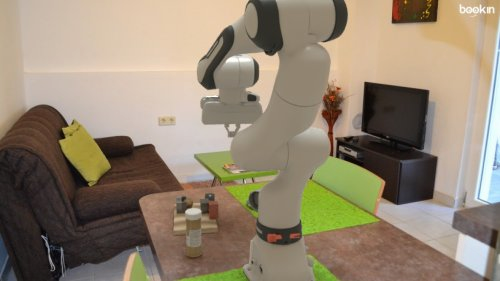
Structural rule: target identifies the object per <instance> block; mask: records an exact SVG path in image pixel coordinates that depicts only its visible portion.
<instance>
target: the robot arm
mask: <svg viewBox="0 0 500 281" xmlns="http://www.w3.org/2000/svg"><path fill="white" fill-rule="evenodd" d="M348 11H349V10H348V5H347V3H346V0H248V1H247V2H246V4H245V8H244V14H243V15H242V16H240V17H239V19H237V20H236V21H234V22H233V23H231V24H230V25H228V26H227V27H225V28H223V29H222V30H221V32H220V34H218V36H217V38H216V39H215V41H213V44H212V46H211V47H210V48H209V49H208V51H207V53H206V54H204V55H203V56H202V57H201V58H200V60H199V61H198V63H197V67H196V78H197V79H196V80H197V82H198V83H199V85H200V86H202V87H203V88H204V89H205V90H207V91H211V90H217V89H218V95H205V96H204V97H202V98H201V99H200V102H199V103H200V109H201V123H202V124H203V125H205V126H207V125H211V126H212V125H214V126H215V125H224V128H225V130H226V132H227V138H228V139H229V138H232V140H231V143H230V149H229V150H230V157H231V160H232V162H233V163H234V165H235V166H236V167H237V169H239V170H243V171H249V172H257V173H258V172H259V173H260V172H275V171H278V173H277V175H276V176H275V177H274V178H273V179H272V180H270V181H268V182H266V183H265V184H263V185H262V187H261V188H260V189H261V190H260V192H259V196H258V211H257V212H258V213H257V218H256V219H255V220H256V221H255V232H256V234H255V235H254V236H253V238H252V239H251V240H250V241H249V242H250V245H249V256H248V257H249V258H248V259H249V261H248V263H246V264H244V266H243V267H242V268H243V269H242V271H243V272H244V274H245V276H246V277H247V279H248V280H249V281H316V278H315V273H314V269H313V268H314V265H315V263H314V258H313V257H310V256H307V252H310V250H309V249H310V247H309V246H307V245H305V244H306V243H305V237H304V235H303V225H302V224H303V222H302V219H301V211H302V210H301V209H302V202H303V201H302V200H303V193H304V192H305V188H306V186H307V183H308V182H309V180H310V179H311V177H312V176H313V174H314V173H315V172H316V171H317V170H318V169H319V168H321V167H322V166H323V165H324V164H326V162H327V161H328V159H329V157H330V154H331V149H332V148H331V147H332V146H331V145H332V144H331V141H330V138H329V136H328V134H327V132H326V131H324V129H323V128H319V127H314V126H313V124H314V123H315V121H316V118H317V115H318V113H319V110H320V107H321V104H322V102H323V99H324V96H325V93H326V90H327V87H328V83H329V77H330V72H331V71H330V70H331V63H332V62H331V55H330V53H329V51H328V50H327V49H326V48H325V47H324V46H323V45H322V44H320V43H328V42H331V41H334V40H336V39H338V38H340V37H341V36H342V35H343V34H344V32H345V29H346V26H347V25H348V20H349V12H348ZM259 53H264V54H265V55H266V56H269V57H273V56H275V55H276V54H277V56H278V60H279V61H278V62H279V63H278V70H277V73H276V76H275V79H274V83H273V86H272V92H271V94H270V98H269V102H268V105H267V107H266V108H265V110H264V112H263V105H262V104H261V103H260V101H261V99H260V98H261V96H260V95H259V94H257V93H255V92H252V91H250V90H247V89H249V88H252V87H254V86H255V85H256V84H257V83H258V82H259V79H260V65H259V62H258V61H257V60H256V59H255V58H254V57H253V56H250V55H249V54H259ZM230 125H235V127H236V128H235V129H234V130H231V131H230V130H229V128H230ZM241 125H249V126H247V127H245V128H244V129H241ZM240 129H241V130H240Z"/></svg>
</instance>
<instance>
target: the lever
mask: <svg viewBox="0 0 500 281" xmlns="http://www.w3.org/2000/svg"><path fill="white" fill-rule="evenodd" d="M215 196H216V195H215V193H213V192H207V193H205V194H204V198H199V203H200V210H201V211H209V219H211V218H216V219H219V202H218V200H215V199H216V198H215Z"/></svg>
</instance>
